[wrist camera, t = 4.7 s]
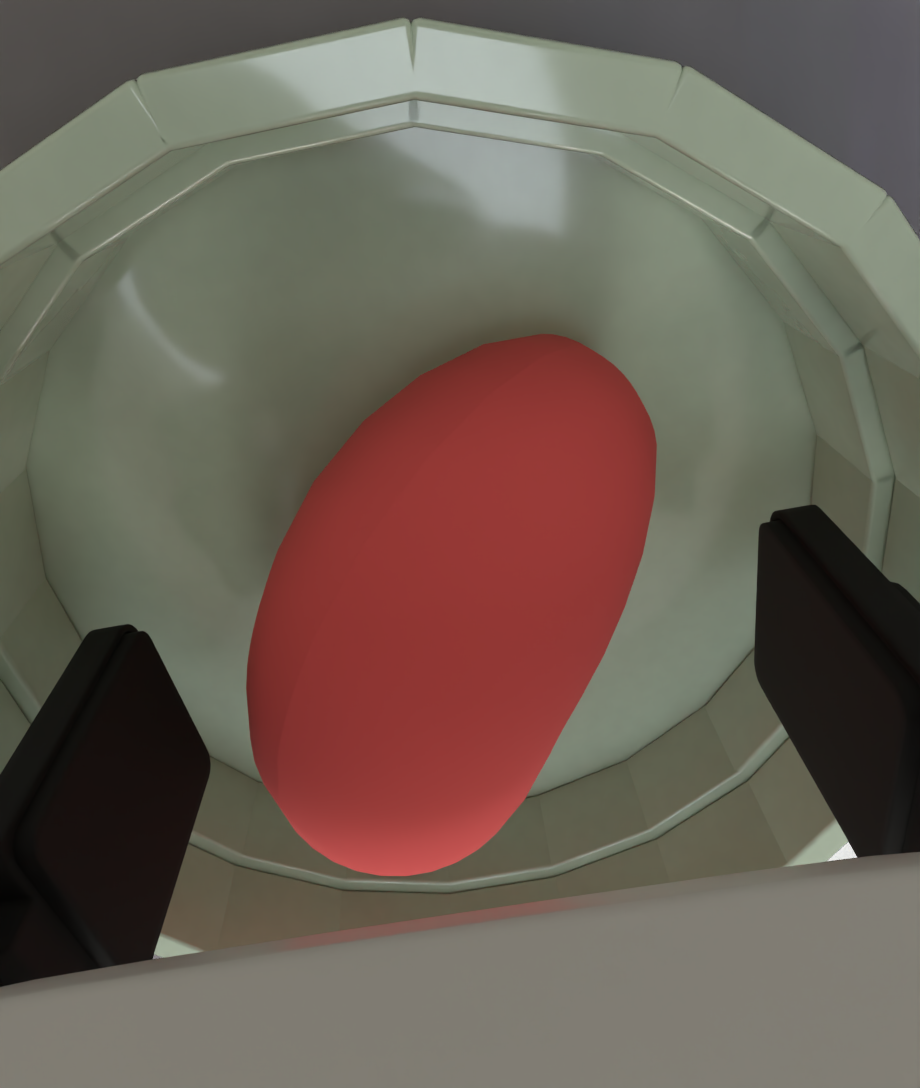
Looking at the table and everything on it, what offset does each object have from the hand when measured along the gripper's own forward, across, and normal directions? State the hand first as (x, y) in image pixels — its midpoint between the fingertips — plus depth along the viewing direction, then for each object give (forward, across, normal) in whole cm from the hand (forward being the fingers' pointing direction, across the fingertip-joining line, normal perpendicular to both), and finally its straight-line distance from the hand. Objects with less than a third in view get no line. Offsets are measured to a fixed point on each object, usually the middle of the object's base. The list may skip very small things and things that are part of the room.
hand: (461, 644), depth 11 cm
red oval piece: (+2, 0, 0) cm, 3 cm away
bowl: (+3, 0, 0) cm, 3 cm away
